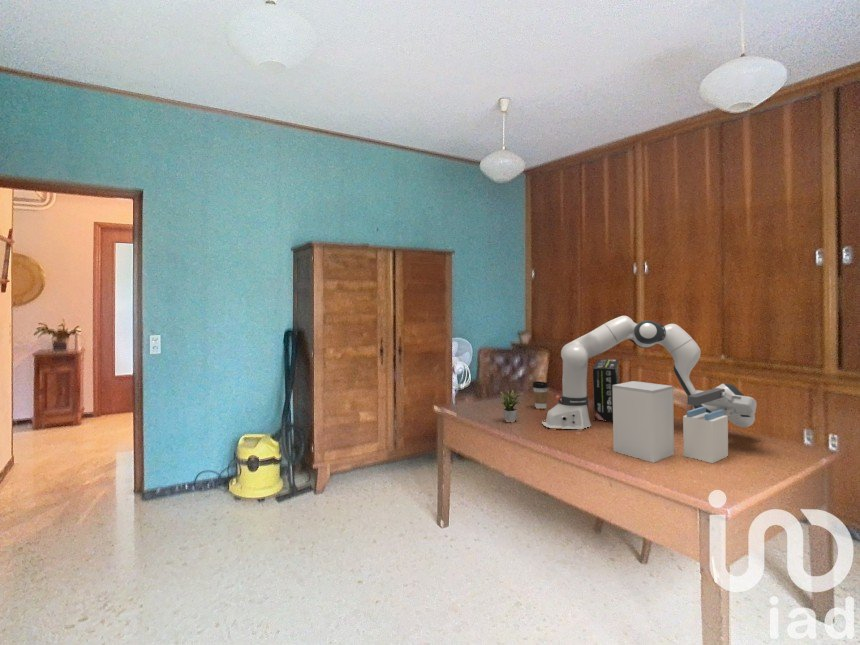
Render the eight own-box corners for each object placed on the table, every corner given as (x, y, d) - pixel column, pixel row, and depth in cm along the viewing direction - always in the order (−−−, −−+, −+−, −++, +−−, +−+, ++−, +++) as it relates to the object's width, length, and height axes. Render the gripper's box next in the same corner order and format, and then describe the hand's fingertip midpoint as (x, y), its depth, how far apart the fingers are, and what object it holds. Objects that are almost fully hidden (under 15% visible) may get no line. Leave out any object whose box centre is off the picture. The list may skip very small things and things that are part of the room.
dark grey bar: (716, 395, 174) (716, 388, 174) (724, 396, 171) (724, 389, 171) (687, 404, 161) (687, 396, 161) (696, 405, 159) (696, 397, 159)
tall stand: (634, 444, 182) (633, 380, 181) (674, 454, 169) (673, 386, 168) (613, 451, 174) (612, 385, 174) (653, 462, 161) (652, 390, 160)
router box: (598, 406, 253) (597, 358, 252) (619, 407, 248) (618, 359, 247) (593, 421, 220) (592, 367, 219) (617, 423, 216) (616, 367, 215)
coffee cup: (534, 407, 255) (533, 380, 254) (549, 407, 252) (548, 381, 251) (531, 410, 247) (531, 383, 246) (547, 411, 244) (547, 383, 243)
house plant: (528, 425, 215) (528, 392, 215) (500, 426, 216) (499, 392, 215) (523, 418, 230) (522, 386, 229) (496, 419, 230) (495, 387, 229)
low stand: (699, 449, 174) (698, 406, 173) (728, 456, 166) (727, 410, 165) (683, 456, 167) (683, 410, 167) (712, 463, 159) (712, 415, 158)
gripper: (704, 394, 187) (689, 381, 180) (761, 402, 170) (748, 388, 163) (700, 409, 185) (685, 396, 178) (758, 418, 168) (744, 404, 161)
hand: (715, 392), depth 170 cm, fingers closed on dark grey bar, 3 cm apart
